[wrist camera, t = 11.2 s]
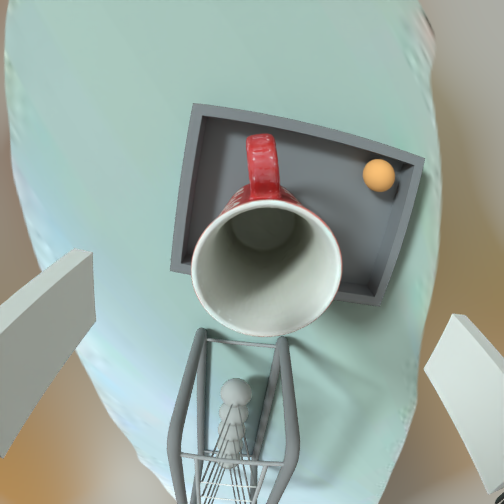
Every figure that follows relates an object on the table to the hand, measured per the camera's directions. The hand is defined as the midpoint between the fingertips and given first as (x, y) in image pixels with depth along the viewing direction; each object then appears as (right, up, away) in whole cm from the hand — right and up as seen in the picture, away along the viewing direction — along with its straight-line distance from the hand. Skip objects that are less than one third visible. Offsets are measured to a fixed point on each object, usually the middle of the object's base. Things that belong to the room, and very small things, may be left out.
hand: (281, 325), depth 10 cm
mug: (0, +7, +21) cm, 22 cm away
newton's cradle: (-4, -20, +32) cm, 37 cm away
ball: (+11, +10, +19) cm, 24 cm away
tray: (+3, +7, +21) cm, 22 cm away
